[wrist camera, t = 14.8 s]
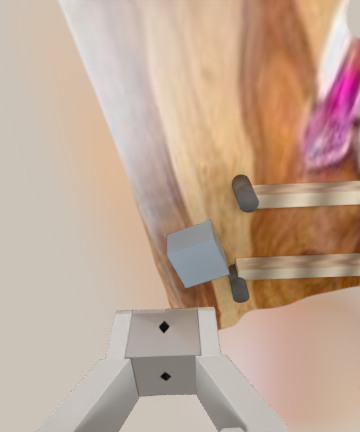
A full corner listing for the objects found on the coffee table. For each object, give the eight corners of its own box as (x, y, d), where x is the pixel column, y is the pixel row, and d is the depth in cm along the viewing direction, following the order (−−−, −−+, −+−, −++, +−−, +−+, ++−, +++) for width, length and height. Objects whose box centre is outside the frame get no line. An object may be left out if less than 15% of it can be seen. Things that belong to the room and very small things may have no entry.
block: (210, 219, 47) (213, 238, 43) (225, 252, 50) (229, 274, 46) (167, 234, 48) (166, 255, 44) (184, 266, 52) (185, 288, 48)
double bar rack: (403, 167, 43) (434, 187, 38) (366, 270, 52) (386, 296, 47) (232, 175, 43) (240, 195, 38) (227, 275, 53) (232, 302, 48)
